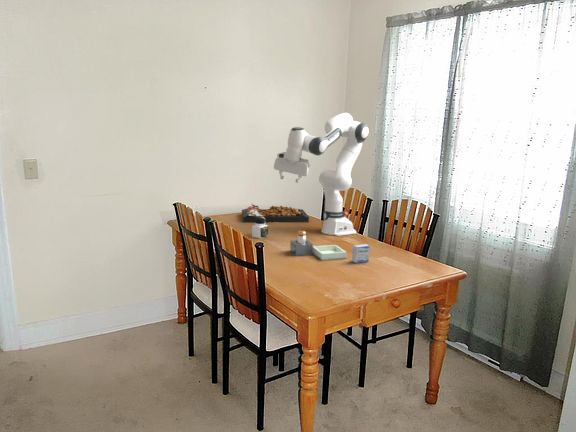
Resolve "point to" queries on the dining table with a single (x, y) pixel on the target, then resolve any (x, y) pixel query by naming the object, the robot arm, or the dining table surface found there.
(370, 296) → the dining table surface
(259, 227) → the medicine bottle
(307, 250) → the block
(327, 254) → the tray
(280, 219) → the food platter
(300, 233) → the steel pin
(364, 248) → the medicine box
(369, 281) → the dining table surface
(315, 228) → the dining table surface
